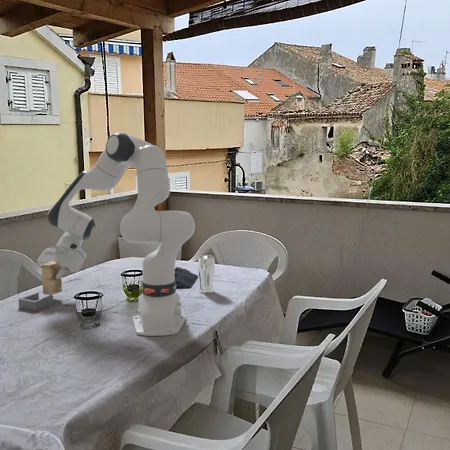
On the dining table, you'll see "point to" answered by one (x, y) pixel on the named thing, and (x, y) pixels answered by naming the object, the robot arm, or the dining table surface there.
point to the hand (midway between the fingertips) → (50, 277)
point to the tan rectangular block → (51, 278)
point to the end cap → (35, 302)
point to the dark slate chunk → (184, 278)
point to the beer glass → (206, 273)
